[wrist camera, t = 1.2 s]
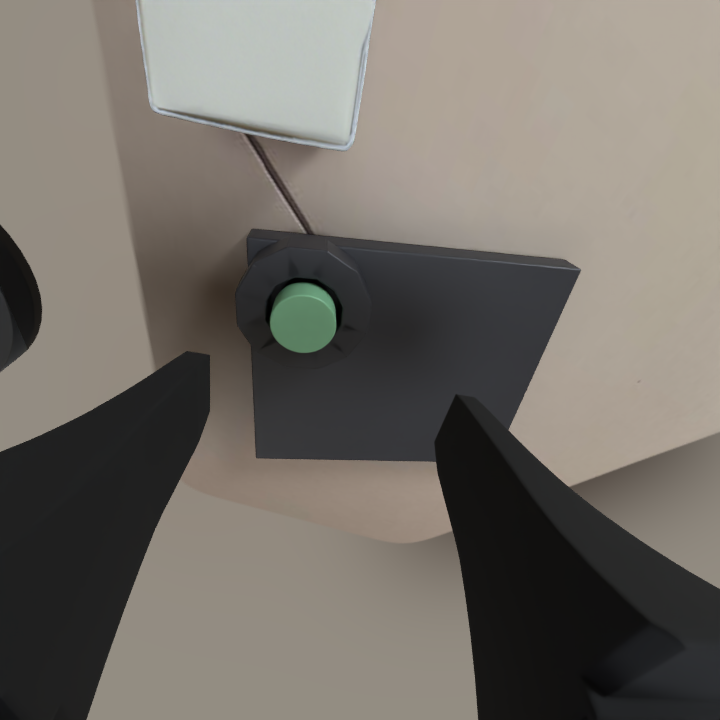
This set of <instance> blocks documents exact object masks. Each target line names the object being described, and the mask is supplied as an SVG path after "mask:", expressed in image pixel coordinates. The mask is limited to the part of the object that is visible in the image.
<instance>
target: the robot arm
mask: <svg viewBox="0 0 720 720" xmlns="http://www.w3.org/2000/svg"><path fill="white" fill-rule="evenodd" d="M209 412H210V355H208V354H201V353H195V352H189V351H186V352H185V353H183V354H182V355H180V356H179V357H177V358H175V359H174V360H172V361H171V362H169V363H168V364H166V365H165V366H163V367H162V368H160V369H159V370H157V371H156V372H154V373H153V374H151V375H150V376H148V377H147V378H145V379H143V380H142V381H140V382H139V383H137V384H135V385H134V386H133V387H131V388H129V389H127V390H126V391H124V392H123V393H121V394H119V395H117V396H116V397H114V398H112V399H110V400H109V401H107V402H105V403H103V404H101V405H100V406H98V407H96V408H94V409H93V410H91V411H89V412H87V413H85V414H84V415H82V416H80V417H78V418H76V419H74V420H72V421H70V422H68V423H66V424H64V425H61V426H59V427H57V428H55V429H53V430H51V431H49V432H46V433H44V434H42V435H40V436H38V437H35V438H34V439H31V440H29V441H26V442H24V443H22V444H19V445H16V446H14V447H11V448H9V449H6V450H4V451H1V452H0V720H86V719H87V716H88V713H89V710H90V707H91V704H92V701H93V698H94V695H95V692H96V689H97V686H98V683H99V680H100V677H101V674H102V671H103V668H104V665H105V662H106V660H107V657H108V654H109V651H110V648H111V645H112V642H113V640H114V637H115V634H116V631H117V628H118V625H119V623H120V620H121V617H122V614H123V612H124V609H125V606H126V603H127V601H128V598H129V595H130V593H131V590H132V587H133V585H134V582H135V579H136V576H137V574H138V571H139V569H140V566H141V563H142V561H143V559H144V556H145V553H146V551H147V548H148V546H149V543H150V541H151V538H152V535H153V533H154V531H155V528H156V526H157V524H158V522H159V520H160V517H161V515H162V513H163V511H164V509H165V507H166V505H167V503H168V501H169V500H170V498H171V496H172V493H173V492H174V490H175V488H176V486H177V484H178V482H179V480H180V478H181V476H182V474H183V472H184V470H185V468H186V466H187V464H188V462H189V460H190V458H191V456H192V455H193V453H194V451H195V449H196V446H197V444H198V442H199V440H200V437H201V434H202V432H203V429H204V426H205V423H206V420H207V417H208V415H209ZM434 446H435V456H436V464H437V471H438V476H439V480H440V484H441V488H442V492H443V496H444V499H445V503H446V507H447V511H448V514H449V518H450V522H451V526H452V530H453V533H454V537H455V541H456V545H457V550H458V554H459V559H460V565H461V571H462V577H463V584H464V590H465V597H466V604H467V612H468V619H469V627H470V635H471V643H472V653H473V661H474V662H473V663H474V672H475V683H476V696H477V709H478V720H720V589H719V588H717V587H715V586H713V585H712V584H710V583H708V582H706V581H704V580H703V579H701V578H699V577H698V576H696V575H694V574H692V573H691V572H689V571H687V570H686V569H684V568H682V567H681V566H679V565H678V564H676V563H674V562H673V561H671V560H669V559H668V558H667V557H665V556H663V555H662V554H660V553H659V552H657V551H655V550H654V549H652V548H651V547H649V546H648V545H646V544H645V543H643V542H642V541H640V540H639V539H637V538H636V537H634V536H633V535H631V534H630V533H629V532H627V531H626V530H624V529H623V528H622V527H620V526H619V525H617V524H616V523H615V522H613V521H612V520H610V519H609V518H607V517H606V516H605V515H603V514H602V513H601V512H599V511H598V510H597V509H595V508H594V507H593V506H591V505H590V504H589V503H588V502H587V501H585V500H584V499H583V498H582V497H580V496H579V495H578V494H577V493H575V492H574V491H573V490H572V489H570V488H569V487H568V486H567V485H566V484H564V483H563V482H562V481H561V480H560V479H559V478H558V477H556V476H555V475H554V474H553V473H552V472H551V471H550V470H549V469H548V468H547V467H545V466H544V465H543V464H542V463H541V462H540V461H539V460H538V459H537V458H536V457H535V456H534V455H533V454H532V453H530V452H529V451H528V450H527V449H526V448H525V447H524V446H523V445H522V444H521V443H520V442H519V441H518V440H517V439H516V438H515V437H514V436H513V435H512V434H511V433H510V432H509V431H508V430H507V428H506V427H505V426H504V425H503V424H502V423H501V422H500V421H499V420H498V419H497V418H496V417H495V416H494V415H493V414H492V413H491V412H490V411H489V410H488V409H487V408H486V407H485V406H484V405H483V404H482V403H481V402H480V401H479V400H477V399H476V398H475V397H471V396H465V395H459V394H456V395H455V397H454V399H453V401H452V403H451V406H450V408H449V410H448V412H447V415H446V417H445V419H444V421H443V423H442V426H441V428H440V430H439V432H438V434H437V437H436V439H435V441H434Z"/></svg>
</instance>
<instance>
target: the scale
mask: <svg viewBox="0 0 720 720" xmlns="http://www.w3.org/2000/svg"><path fill="white" fill-rule="evenodd" d="M247 261H248V269H247V270H246V272H245V274H244V275H243V277H242V279H241V281H240V283H239V285H238V287H237V289H236V293H235V301H236V316H237V325H238V327H239V329H240V330H241V331H242V333H243V334H244V336H245V337H246V339H247V340H248V341H249V343H250V344H251V354H252V377H253V400H254V423H255V447H256V458H269V459H324V460H378V461H432V462H436V456H435V446H434V441H435V439H436V437H437V434H438V432H439V430H440V428H441V426H442V423H443V421H444V419H445V417H446V415H447V412H448V410H449V408H450V406H451V403H452V401H453V399H454V397H455V395H456V394H459V395H465V396H471V397H475V398H476V399H477V400H479V401H480V402H481V403H482V404H483V405H484V406H485V407H486V408H487V409H488V410H489V411H490V412H491V413H492V414H493V415H494V416H495V417H496V418H497V419H498V420H499V421H500V422H501V423H502V424H503V425H504V426H505V427H506V428H507V430H509V427H510V425H511V423H512V421H513V419H514V416H515V414H516V412H517V410H518V408H519V405H520V403H521V401H522V399H523V397H524V394H525V392H526V390H527V388H528V386H529V383H530V381H531V379H532V377H533V375H534V372H535V370H536V368H537V366H538V364H539V361H540V359H541V357H542V355H543V353H544V350H545V348H546V346H547V344H548V342H549V339H550V337H551V335H552V333H553V331H554V328H555V326H556V324H557V322H558V320H559V317H560V315H561V313H562V311H563V309H564V306H565V304H566V302H567V300H568V298H569V295H570V293H571V291H572V289H573V287H574V284H575V282H576V280H577V278H578V276H579V273H580V271H581V269H579V268H578V267H576V266H574V265H573V264H571V263H569V262H568V261H566V260H561V259H551V258H541V257H531V256H521V255H511V254H501V253H491V252H481V251H471V250H461V249H450V248H440V247H430V246H420V245H410V244H400V243H390V242H380V241H370V240H360V239H350V238H340V237H330V236H320V235H310V234H300V233H290V232H280V231H269V230H259V229H252V230H251V232H250V233H249V235H248V237H247ZM298 282H308V283H313V284H316V285H318V286H320V287H322V288H323V289H324V290H326V291H327V292H328V293H329V295H330V296H331V298H332V299H333V301H334V304H335V310H336V331H335V334H334V336H333V338H332V340H331V341H330V342H329V343H328V344H327V345H326V346H325V347H323V348H322V349H320V350H317V351H314V352H310V353H298V352H294V351H291V350H289V349H287V348H285V347H283V346H282V345H281V344H280V343H279V342H278V341H277V340H276V339H275V338H274V336H273V334H272V332H271V328H270V316H271V312H272V308H273V304H274V301H275V298H276V296H277V295H278V294H279V292H280V291H281V290H282V289H284V288H285V287H287V286H288V285H291V284H293V283H298Z"/></svg>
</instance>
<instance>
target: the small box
mask: <svg viewBox="0 0 720 720" xmlns="http://www.w3.org/2000/svg"><path fill="white" fill-rule="evenodd" d="M135 1H136V9H137V17H138V25H139V31H140V38H141V47H142V54H143V62H144V69H145V75H146V81H147V88H148V98H149V103H150V106H151V109H152V110H153V111H154V112H156V113H158V114H161V115H164V116H169V117H173V118H178V119H182V120H187V121H191V122H195V123H200V124H204V125H209V126H213V127H218V128H222V129H227V130H232V131H236V132H241V133H245V134H250V135H255V136H260V137H265V138H270V139H275V140H280V141H285V142H291V143H296V144H301V145H308V146H314V147H319V148H325V149H331V150H337V151H347V150H348V149H349V148H350V147H351V146H352V144H353V143H354V139H355V134H356V128H357V122H358V115H359V109H360V103H361V96H362V90H363V84H364V77H365V70H366V64H367V56H368V49H369V42H370V35H371V28H372V22H373V16H374V10H375V3H376V0H135Z"/></svg>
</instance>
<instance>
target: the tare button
mask: <svg viewBox="0 0 720 720" xmlns="http://www.w3.org/2000/svg"><path fill="white" fill-rule="evenodd" d="M270 328H271V332H272V334H273V336H274V338H275V339H276V340H277V341H278V342H279V343H280V344H281V345H282V346H283V347H285V348H287V349H289V350H291V351H294V352H298V353H310V352H314V351H317V350H320V349H322V348H323V347H325V346H326V345H327V344H328V343H329V342H330V341H331V340H332V338H333V336H334V334H335V331H336V310H335V304H334V301H333V299H332V298H331V296H330V295H329V293H328V292H327V291H326V290H324V289H323V288H322V287H320V286H318V285H316V284H313V283H308V282H298V283H293V284H291V285H288V286H287V287H285V288H284V289H282V290H281V291H280V292H279V294H278V295H277V296H276V298H275V301H274V304H273V308H272V312H271V316H270Z"/></svg>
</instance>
